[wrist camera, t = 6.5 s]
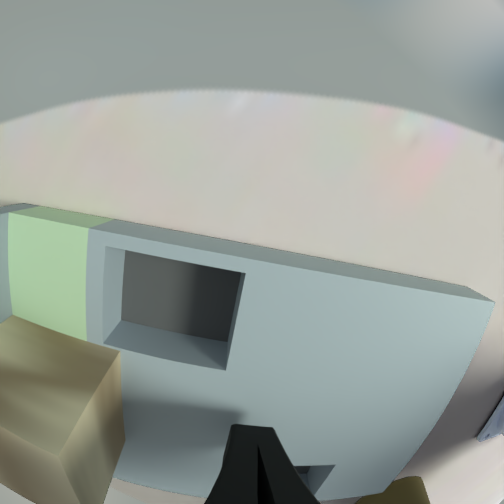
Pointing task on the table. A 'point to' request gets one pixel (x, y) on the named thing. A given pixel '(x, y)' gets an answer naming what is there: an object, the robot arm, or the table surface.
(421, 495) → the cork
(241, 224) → the table surface
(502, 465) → the table surface
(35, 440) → the beech block
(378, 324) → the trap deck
